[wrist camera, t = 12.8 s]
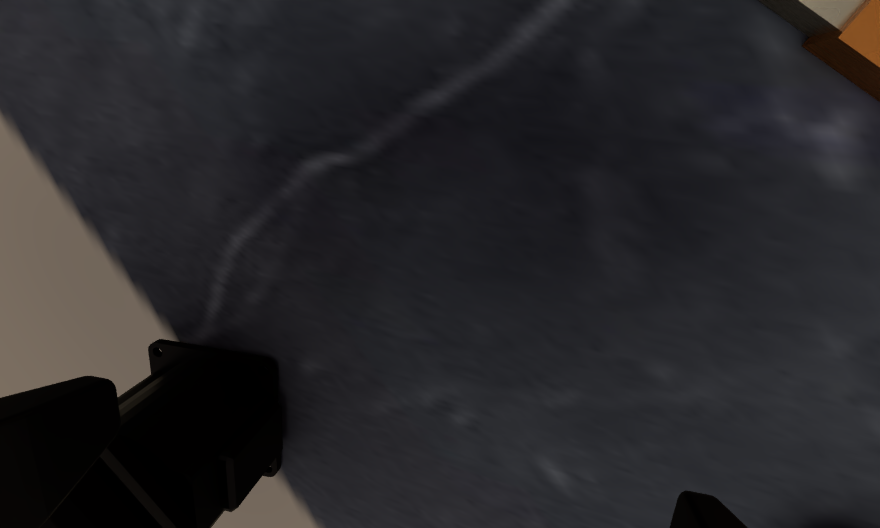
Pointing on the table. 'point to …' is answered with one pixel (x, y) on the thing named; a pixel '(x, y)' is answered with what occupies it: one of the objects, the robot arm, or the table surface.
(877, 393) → the table surface
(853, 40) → the ratchet
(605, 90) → the table surface
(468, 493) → the table surface
